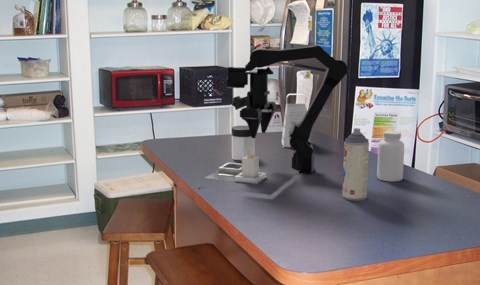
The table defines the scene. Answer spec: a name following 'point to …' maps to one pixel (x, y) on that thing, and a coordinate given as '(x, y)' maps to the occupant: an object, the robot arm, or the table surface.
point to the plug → (250, 166)
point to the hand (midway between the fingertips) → (258, 135)
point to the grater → (292, 119)
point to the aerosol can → (355, 167)
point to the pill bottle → (390, 157)
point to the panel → (237, 174)
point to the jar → (242, 142)
